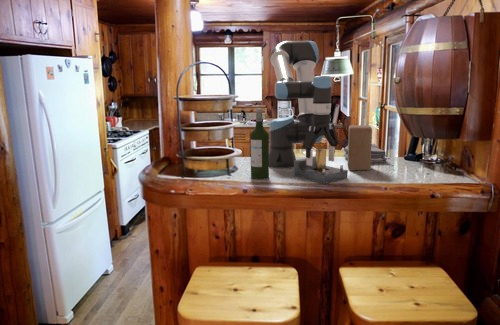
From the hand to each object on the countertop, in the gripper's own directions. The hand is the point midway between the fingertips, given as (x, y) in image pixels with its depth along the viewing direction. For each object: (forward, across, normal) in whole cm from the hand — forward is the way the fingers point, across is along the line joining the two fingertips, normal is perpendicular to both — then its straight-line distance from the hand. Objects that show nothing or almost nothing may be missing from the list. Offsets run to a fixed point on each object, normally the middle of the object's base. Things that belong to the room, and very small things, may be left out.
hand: (320, 163), depth 171 cm
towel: (+7, +44, +10) cm, 45 cm away
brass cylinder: (+6, 0, 0) cm, 6 cm away
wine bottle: (+6, -20, +17) cm, 27 cm away
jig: (+6, 0, 0) cm, 6 cm away
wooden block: (+6, +26, 0) cm, 27 cm away
